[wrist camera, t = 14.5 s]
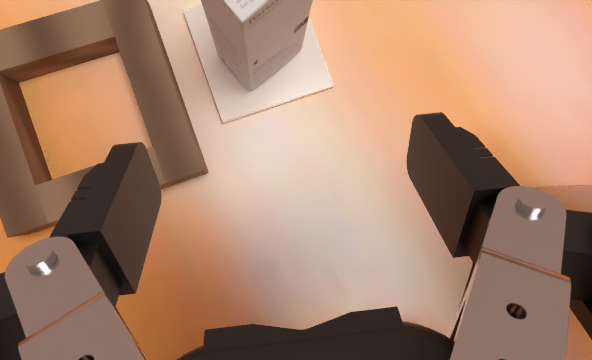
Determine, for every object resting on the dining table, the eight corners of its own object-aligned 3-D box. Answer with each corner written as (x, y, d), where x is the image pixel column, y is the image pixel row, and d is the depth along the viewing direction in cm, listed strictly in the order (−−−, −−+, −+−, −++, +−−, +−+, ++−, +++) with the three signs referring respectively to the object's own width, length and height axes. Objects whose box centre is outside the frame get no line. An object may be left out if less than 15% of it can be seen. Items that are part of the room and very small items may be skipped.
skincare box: (250, 95, 31) (242, 30, 19) (215, 55, 31) (183, -35, 19) (304, 48, 32) (329, -42, 20) (270, 9, 32) (272, -106, 20)
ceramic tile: (294, -20, 33) (295, -23, 32) (333, 87, 32) (334, 85, 32) (184, 13, 32) (183, 10, 31) (223, 123, 32) (222, 122, 31)
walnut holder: (149, 5, 32) (140, -11, 29) (208, 172, 31) (203, 170, 29) (-31, 58, 30) (-58, 46, 28) (28, 234, 30) (7, 237, 27)
